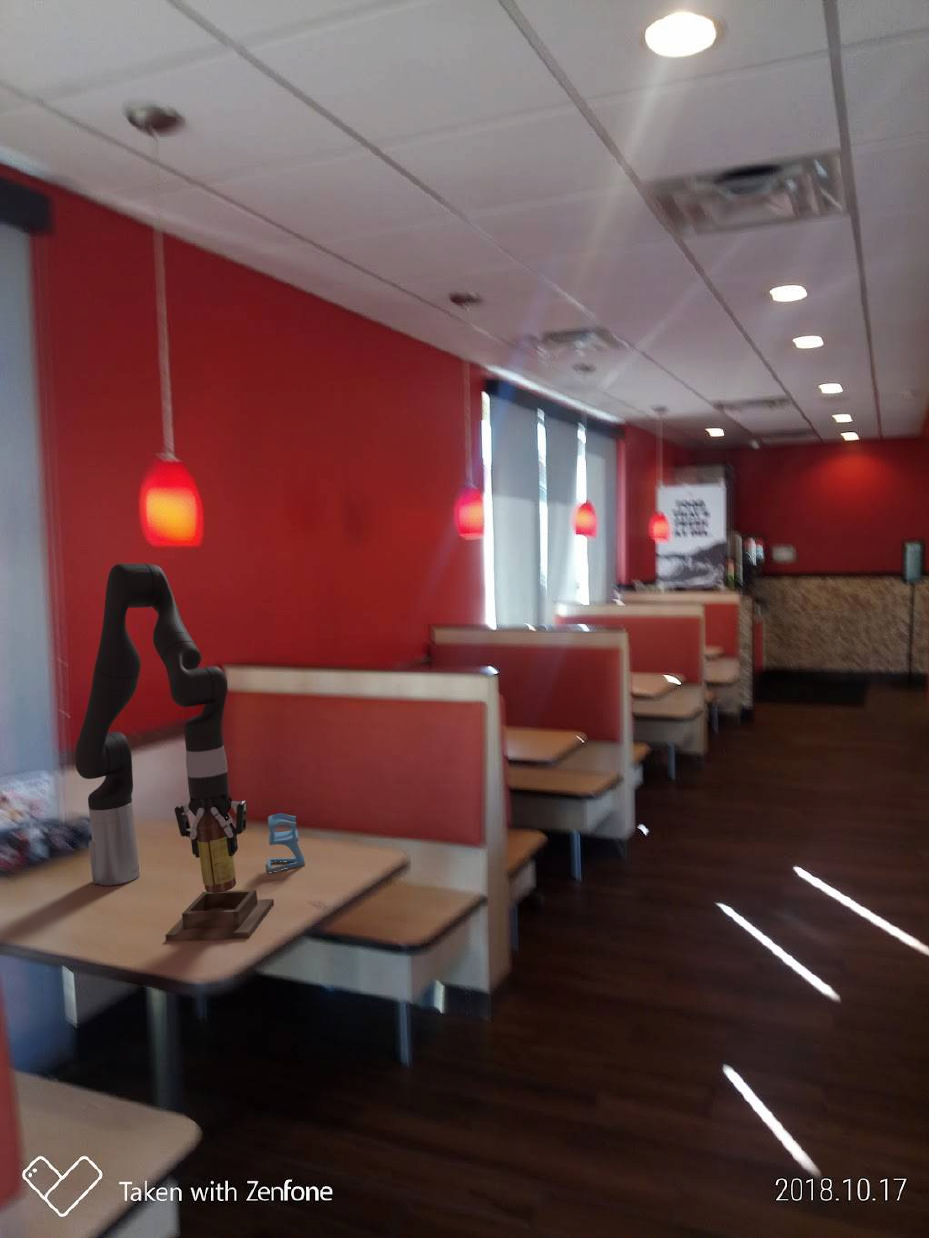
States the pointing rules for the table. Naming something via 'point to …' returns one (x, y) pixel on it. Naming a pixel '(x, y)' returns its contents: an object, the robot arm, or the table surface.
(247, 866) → the table surface
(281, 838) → the chair
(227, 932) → the bottle caddy
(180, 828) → the robot arm
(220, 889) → the sauce bottle
